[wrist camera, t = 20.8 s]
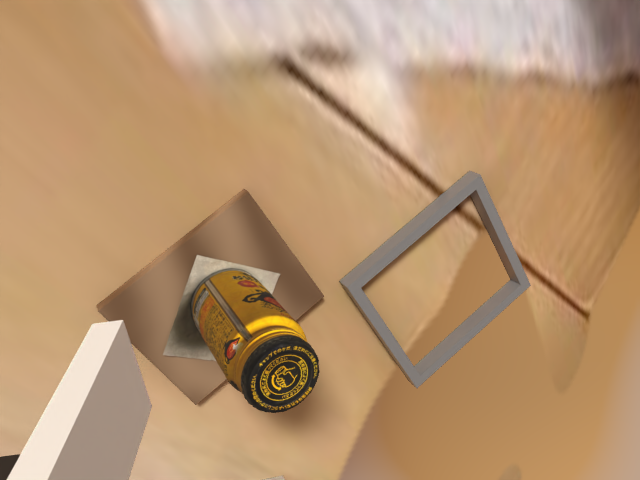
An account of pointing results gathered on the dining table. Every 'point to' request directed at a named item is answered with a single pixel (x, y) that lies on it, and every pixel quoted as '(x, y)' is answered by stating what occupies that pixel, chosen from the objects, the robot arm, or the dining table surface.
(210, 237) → the walnut board
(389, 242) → the square collar
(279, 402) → the yellow cylindrical jar
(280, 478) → the white milk carton
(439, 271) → the dining table surface
